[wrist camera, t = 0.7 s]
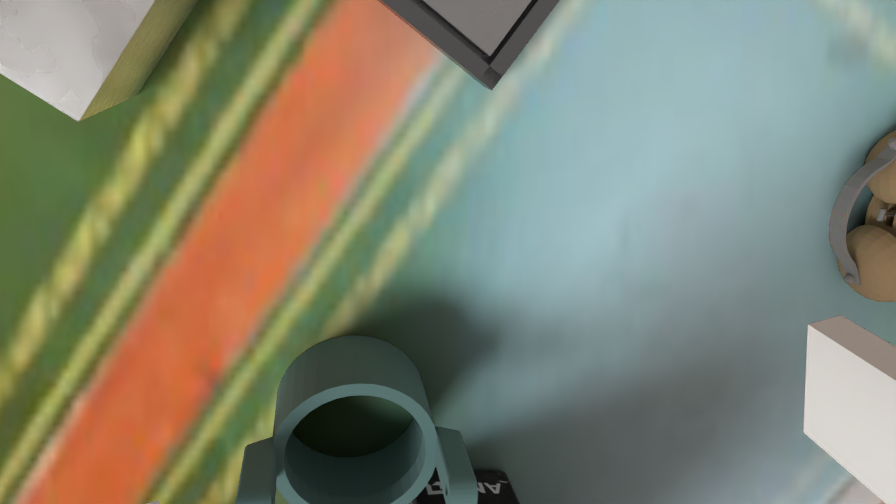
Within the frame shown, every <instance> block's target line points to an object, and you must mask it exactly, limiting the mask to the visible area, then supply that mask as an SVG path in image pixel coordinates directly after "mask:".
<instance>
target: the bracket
mask: <svg viewBox="0 0 896 504" xmlns="http://www.w3.org/2000/svg"><path fill="white" fill-rule="evenodd" d="M358 395H366V396H375V397H380V398H383V399H387V400H390V401H392V402H394V403H396V404H398V405H400V406H402V407H403V408H404V409H405V410H407V411H408V412H409V413H411V415H412V416H413V419H412V421H411V423H410V424H409V426H408V428H407V429H406V430H405V431H404V432H403V434H402V435H401V436H400V437H399V438H397V439H396V440H395V441H394V442H393V443H391V444H390V445H388V446H386V447H385V448H383V449H381V450H379V451H376V452H374V453H371V454H368V455H364V456H359V457H349V458H342V457H332V456H328V455H324V454H321V453H319V452H316V451H314V450H312V449H310V448H309V447H307V446H306V445H304V444H303V443H301V442H300V441H299V440H298V439H297V438H296V437H295V436H294V435H293V433H292V431H293V429H294V428H295V427H296V425H297V424H298V423H299V422H300V420H302V419H303V418H304V417H305V416H306V415H307V414H308V413H309V412H311V411H312V410H314V409H316V408H317V407H319V406H320V405H322V404H324V403H327V402H329V401H332V400H334V399H338V398H343V397H347V396H358ZM435 467H437V471H438V475H439V479H440V483H441V487H442V491H443V494H444V498H445V502H446V504H477V501H478V487H477V480H476V477H475V474H474V471H473V468H472V465H471V462H470V460H469V457H468V454H467V451H466V448H465V445H464V442H463V439H462V436H461V433H460V432H459V431H457V430H452V429H447V428H442V427H436V426H435V425H434V422H433V418H432V414H431V411H430V407H429V404H428V400H427V397H426V393H425V389H424V386H423V382H422V379H421V377H420V374H419V371H418V370H417V368H416V366H415V365H414V363H413V362H412V360H411V359H410V358H409V357H408V356H407V355H406V354H405V353H404V352H403V351H401V350H400V349H399V348H397V347H396V346H394V345H392V344H390V343H388V342H386V341H384V340H380V339H377V338H374V337H368V336H360V335H354V336H342V337H336V338H331V339H329V340H326V341H323V342H321V343H318V344H316V345H315V346H313V347H311V348H309V349H307V350H306V351H305V352H304V353H302V354H301V355H300V356H299V357H297V358H296V359H295V360H294V362H293V363H292V364H291V365H290V366H289V367H288V369H287V370H286V372H285V374H284V376H283V377H282V379H281V382H280V385H279V388H278V392H277V402H276V411H275V420H274V429H273V437H270V438H267V439H264V440H261V441H258V442H255V443H252V444H249V445H247V446H246V447H245V451H244V457H243V463H242V469H241V474H240V480H239V486H238V492H237V498H236V504H275V493H276V486H277V488H278V490H279V492H280V493H281V494H282V496H283V497H284V498H285V500H286V501H288V502H289V503H290V504H409V503H410V502H411V501H412V500H413V499H415V498H416V497H417V496H418V495H419V493H420V492H421V491H422V490H423V489H424V488H425V486H426V485H427V483H428V481H429V480H430V478H431V477H432V474H433V472H434V469H435Z"/></svg>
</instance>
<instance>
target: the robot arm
mask: <svg viewBox="0 0 896 504" xmlns="http://www.w3.org/2000/svg"><path fill="white" fill-rule="evenodd" d="M803 432H804V433H805V434H806V435H807V436H808V437H809V438H810V439H812V440H813V441H814V442H815V443H816V444H817V445H819V446H820V447H821V448H822V449H823V450H824V451H826V452H827V453H828V454H829V455H830V456H831V457H832V458H834V459H835V460H836V461H837V462H838V463H839V464H841V465H842V466H843V467H844V468H845V469H846V470H847V471H849V472H850V473H851V474H852V475H853V476H854V477H856V478H857V479H858V480H859V481H860V482H861V483H863V484H864V485H865V486H866V487H867V488H868V489H869V490H871V491H872V492H873V493H874V494H875V495H876V496H878V497H879V498H880V499H881V500H882V501H883V502H884V503H886V504H896V347H895V346H893V345H891V344H889V343H888V342H886V341H884V340H883V339H881V338H879V337H877V336H876V335H874V334H872V333H871V332H869V331H867V330H865V329H864V328H862V327H860V326H859V325H857V324H855V323H854V322H852V321H850V320H848V319H847V318H845V317H843V316H842V315H841V316H837V317H833V318H830V319H826V320H822V321H819V322H815V323H811V324H808V335H807V359H806V383H805V407H804V431H803ZM147 504H160V503H159V501H154V502H150V503H147Z"/></svg>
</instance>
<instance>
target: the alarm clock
mask: <svg viewBox="0 0 896 504" xmlns="http://www.w3.org/2000/svg"><path fill="white" fill-rule="evenodd" d="M866 184H867V186H868V188H869V189H870V190H871V192H872V193H873V194H874V195H873V197H872V199H871V201H870V204H869V206H868V209H867V214H866V219H865V224H864V225H862V226H858V227H856V228H855V229H853V230H852V231H850V232H849V233H848V234H847V235H846V229H847V224H848V219H849V215H850V212H851V210H852V208H853V205H854V203H855V201H856V199H857V197H858V196H859V194H860V192H861V190H862V189H863V188H864V187H865V185H866ZM829 240H830V245H831V247H832V250H833V252H834V254H835V255H836V256H837V263H838V267H839V270H840V272H841V274H842V276H843V278H844V282H845V283H848V285H849V286H850V287H851V288H852V289H853V290H855V291H856V292H857V293H859V294H861V295H862V296H864V297H866V298H869V299H872V300H875V301H878V302H893V301H896V130H895V131H893V132H891V133H889V134H888V135H886V136H885V137H883V138H882V139H881V140H879V142H878V143H877V144H876V145H875V146H874V147H873V148H872V149H871V151H870V153H869V155H868V156H867V158H866V161H865V165H864V166H862V167H861V168H860V169H859V170H857V171H856V172H855V173H854V174H853V175H852V176H851V177H850V179H849V180H848V181H847V182H846V183H845V185H844V186H843V188H842V190H841V192H840V194H839V195H838V197H837V200H836V202H835V205H834V207H833V209H832V213H831V218H830V223H829Z"/></svg>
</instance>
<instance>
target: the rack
mask: <svg viewBox="0 0 896 504" xmlns="http://www.w3.org/2000/svg"><path fill="white" fill-rule="evenodd" d="M378 1H379V2H381V3H382V4H383V5H384V6H386V7H387V8H388V9H389V10H390V11H392V12H393V13H394V14H395V15H397V16H398V17H399V18H400V19H402V20H403V21H404V22H405V23H406V24H408V25H409V26H410V27H411V28H413V29H414V30H415V31H416V32H418V33H419V34H420V35H421V36H422V37H424V38H425V39H426V40H427V41H429V42H430V43H431V44H432V45H434V46H435V47H436V48H437V49H438V50H440V51H441V52H442V53H443V54H445V55H446V56H447V57H448V58H450V59H451V60H452V61H453V62H454V63H456V64H457V65H458V66H459V67H461V68H462V69H463V70H464V71H466V72H467V73H468V74H469V75H470V76H472V77H473V78H474V79H475V80H477V81H478V82H479V83H480V84H482V85H483V86H484V87H486V88H488V89H490V90H492V89H493V88H494V87H495V85H496V84H497V83H498V81H499V80H500V79H501V77H502V76H503V75H504V73H505V72H506V71H507V69H508V68H509V67H510V65H511V64H512V63H513V61H514V60H515V59H516V57H517V56H518V55H519V53H520V52H521V51H522V49H523V48H524V47H525V45H526V44H527V43H528V41H529V40H530V39H531V37H532V36H533V35H534V33H535V32H536V31H537V29H538V28H539V27H540V25H541V24H542V23H543V21H544V20H545V19H546V17H547V16H548V15H549V13H550V12H551V11H552V9H553V8H554V7H555V5H556V4H557V3H558V1H559V0H378Z"/></svg>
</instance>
